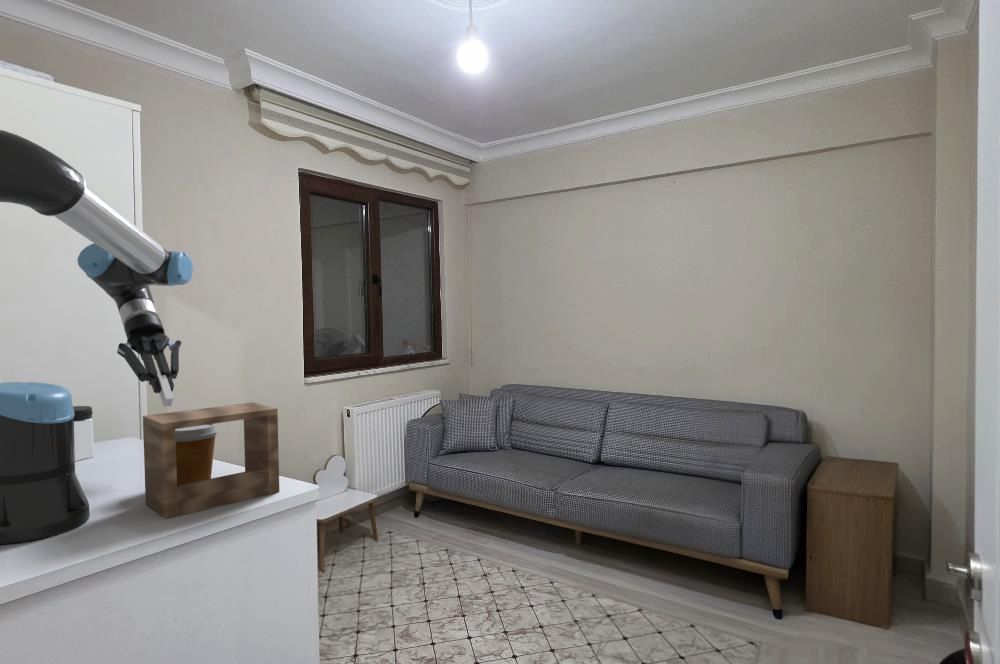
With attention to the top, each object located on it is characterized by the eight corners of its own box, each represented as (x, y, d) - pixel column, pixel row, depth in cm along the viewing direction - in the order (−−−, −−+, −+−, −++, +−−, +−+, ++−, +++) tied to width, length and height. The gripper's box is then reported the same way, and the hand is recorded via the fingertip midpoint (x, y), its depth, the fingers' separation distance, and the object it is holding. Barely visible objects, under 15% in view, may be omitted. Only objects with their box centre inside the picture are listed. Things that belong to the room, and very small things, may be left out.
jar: (95, 459, 140) (93, 409, 139) (52, 465, 135) (50, 413, 134) (92, 452, 147) (90, 404, 146) (51, 457, 142) (49, 408, 141)
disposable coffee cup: (229, 482, 120) (227, 424, 119) (185, 495, 111) (183, 433, 111) (199, 476, 124) (198, 420, 124) (155, 488, 116) (153, 428, 115)
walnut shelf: (165, 519, 99) (161, 423, 98) (145, 504, 107) (142, 415, 106) (279, 491, 113) (277, 408, 113) (255, 480, 121) (253, 402, 120)
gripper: (169, 332, 143) (196, 408, 133) (106, 335, 134) (130, 417, 123) (176, 311, 139) (204, 387, 129) (112, 312, 130) (137, 395, 119)
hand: (168, 402), depth 126 cm, fingers closed
